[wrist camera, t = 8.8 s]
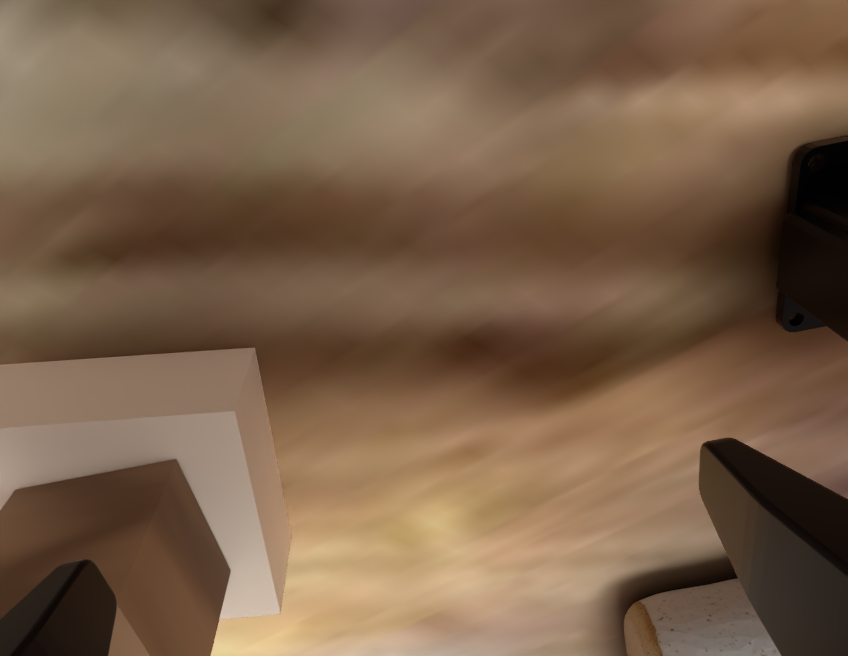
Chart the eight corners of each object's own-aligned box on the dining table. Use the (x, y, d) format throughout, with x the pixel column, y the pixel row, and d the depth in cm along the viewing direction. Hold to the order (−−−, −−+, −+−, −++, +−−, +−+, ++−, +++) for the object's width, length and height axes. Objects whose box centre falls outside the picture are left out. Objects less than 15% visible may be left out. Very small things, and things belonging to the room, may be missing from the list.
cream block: (256, 342, 22) (234, 410, 18) (292, 529, 26) (280, 614, 22) (-12, 360, 21) (-88, 434, 18) (70, 547, 26) (22, 637, 22)
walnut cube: (176, 458, 19) (116, 603, 14) (230, 570, 21) (193, 723, 17) (15, 489, 19) (-93, 642, 14) (87, 597, 21) (13, 755, 17)
